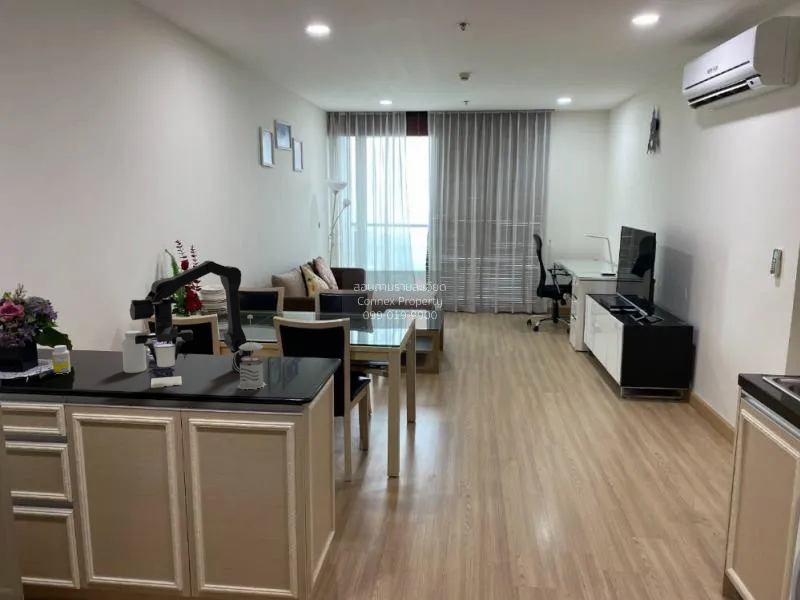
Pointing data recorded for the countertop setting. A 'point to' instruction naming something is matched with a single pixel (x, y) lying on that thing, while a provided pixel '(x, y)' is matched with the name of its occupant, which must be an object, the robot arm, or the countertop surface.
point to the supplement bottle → (61, 359)
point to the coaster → (166, 381)
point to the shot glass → (165, 355)
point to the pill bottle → (133, 354)
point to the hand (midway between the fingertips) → (165, 360)
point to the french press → (247, 380)
